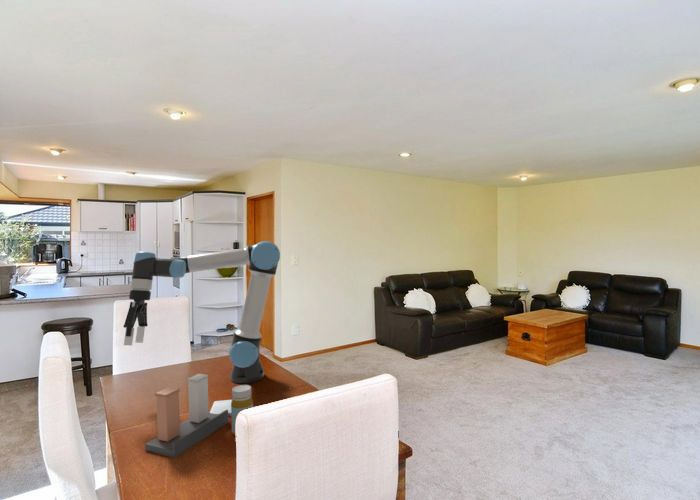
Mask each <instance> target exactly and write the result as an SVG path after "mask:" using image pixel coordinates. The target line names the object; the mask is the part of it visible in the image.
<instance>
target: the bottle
mask: <svg viewBox="0 0 700 500" xmlns="http://www.w3.org/2000/svg"><path fill="white" fill-rule="evenodd" d="M231 397H232V399H231V400H232V402H231V416H230V417H231V434H232V435H233V436H235V419H236V416H237V414H238V413H239V412H240V411H242V410H244V409H248V408H251V407H253V408H254V401H253V398H252V386H251V385H249V384H240V385H236V386H234V387H232V390H231ZM235 437H236V436H235Z"/></svg>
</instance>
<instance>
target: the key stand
mask: <svg viewBox="0 0 700 500" xmlns="http://www.w3.org/2000/svg"><path fill="white" fill-rule="evenodd" d="M228 423H229V416H228V410H225V411H223V412H222V413H220V414H219V415H218V414H213V413H210V412H209V417H208V418H206V419H204V420H203V421H201V422H199V423H196V422H191V421H189V418H188V419H186V420H184V421H183V422H181V423H180V434H179V435H178V436H176V437H175V438H173V439H171V440H170V441H168V442H167V441H162V440H158V436H156V437H154V438H152V439H151V440H149V441H148V442H146V443H144V447H145V448H144V449H145V451H148V452H151V453H154V454H158V455H162V456H166V457H170V458H175V459H176V458H177V457H178V456H180V455H182V454H183V453H184V452H186V451H187V450H189V449H190V448H192V447H193V446H195V445H197V444H198V443H199V442H201V441H202V440H204V439H205V438H207V437H208V436H210V435H211V434H213V433H215V432H216V431H218V429H220V428H222V427H223V426H225V425H226V424H228Z"/></svg>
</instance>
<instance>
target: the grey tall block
mask: <svg viewBox="0 0 700 500" xmlns="http://www.w3.org/2000/svg"><path fill="white" fill-rule="evenodd" d="M208 378H209V374H203V373H197V374H194V375H193V376H191V377H188V378H187V379H186V381H187V387H188V388H187V390H188V393H187V394H188V417H189V418H188V419H189V421H191V422H196V423H199V422H201V421H203V420H204V419H206V418H208V417H209V413H210V410H209V381H208V380H209V379H208Z"/></svg>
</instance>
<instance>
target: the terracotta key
mask: <svg viewBox="0 0 700 500" xmlns="http://www.w3.org/2000/svg"><path fill="white" fill-rule="evenodd" d="M179 392H180V388H178V387H172V386H168V387H166V388H164V389H162V390H159V391H157V392H155V396H156V419H157V421H156V422H157V437H158V440H162V441H167V442H168V441H170V440H171V439H173V438H175V437H176V436H178V435H179V434H180V424H181V423H180V395H179Z"/></svg>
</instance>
